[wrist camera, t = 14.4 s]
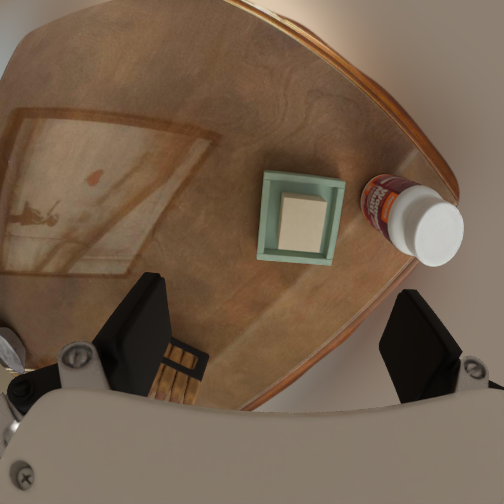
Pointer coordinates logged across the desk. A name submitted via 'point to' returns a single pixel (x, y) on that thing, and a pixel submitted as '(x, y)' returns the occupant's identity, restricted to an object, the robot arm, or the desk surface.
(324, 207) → the beige block
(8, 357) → the bowl
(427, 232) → the pill bottle
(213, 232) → the desk surface
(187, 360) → the ammunition clip
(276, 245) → the shallow square green tray
